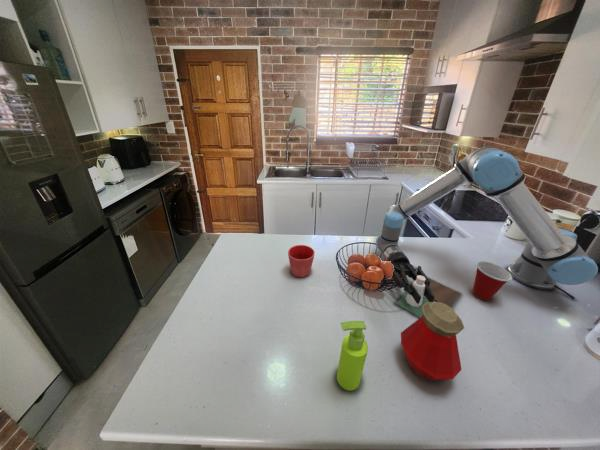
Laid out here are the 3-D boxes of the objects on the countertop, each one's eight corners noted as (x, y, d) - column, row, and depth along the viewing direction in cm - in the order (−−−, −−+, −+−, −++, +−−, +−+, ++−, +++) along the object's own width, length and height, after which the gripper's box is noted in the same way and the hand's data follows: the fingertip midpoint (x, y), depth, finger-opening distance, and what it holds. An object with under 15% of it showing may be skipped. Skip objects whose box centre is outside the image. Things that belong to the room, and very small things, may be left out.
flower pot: (283, 275, 100) (283, 255, 96) (294, 261, 109) (294, 242, 105) (307, 282, 96) (309, 262, 92) (316, 267, 106) (318, 248, 101)
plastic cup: (505, 308, 88) (520, 281, 83) (472, 302, 90) (484, 276, 84) (491, 287, 98) (503, 263, 92) (461, 283, 99) (471, 258, 94)
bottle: (466, 385, 63) (497, 331, 54) (423, 401, 59) (448, 346, 50) (423, 335, 76) (442, 285, 67) (385, 345, 73) (400, 293, 64)
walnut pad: (459, 294, 94) (460, 293, 93) (449, 308, 87) (450, 307, 87) (422, 276, 103) (423, 275, 102) (411, 288, 96) (411, 287, 95)
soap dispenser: (330, 368, 66) (338, 314, 57) (356, 367, 67) (367, 313, 57) (335, 391, 61) (345, 336, 52) (362, 389, 61) (376, 334, 52)
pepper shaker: (420, 309, 85) (429, 284, 80) (404, 303, 88) (411, 278, 83) (422, 300, 89) (431, 276, 84) (407, 294, 92) (414, 270, 87)
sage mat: (448, 310, 86) (448, 309, 86) (436, 328, 79) (437, 327, 79) (409, 290, 95) (409, 289, 94) (395, 304, 88) (395, 303, 88)
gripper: (414, 266, 104) (446, 308, 83) (374, 266, 103) (398, 309, 82) (418, 251, 101) (454, 291, 80) (378, 251, 99) (403, 292, 79)
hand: (425, 300), depth 81 cm, fingers closed on pepper shaker, 4 cm apart
